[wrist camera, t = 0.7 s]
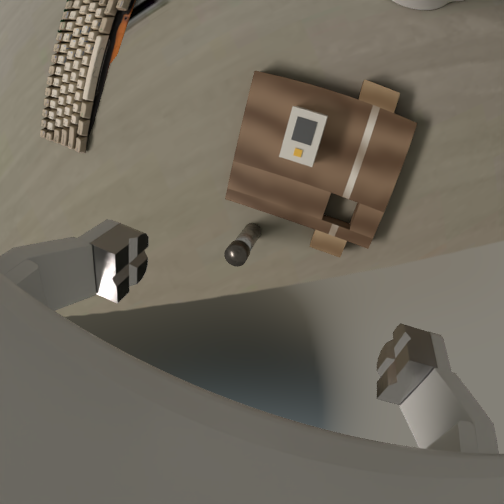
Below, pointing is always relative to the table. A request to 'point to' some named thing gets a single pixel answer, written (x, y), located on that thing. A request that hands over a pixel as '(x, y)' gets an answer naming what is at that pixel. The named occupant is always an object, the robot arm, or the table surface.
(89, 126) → the mechanical keyboard
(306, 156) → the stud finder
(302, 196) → the board
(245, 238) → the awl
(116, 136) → the table surface
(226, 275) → the table surface
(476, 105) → the table surface
